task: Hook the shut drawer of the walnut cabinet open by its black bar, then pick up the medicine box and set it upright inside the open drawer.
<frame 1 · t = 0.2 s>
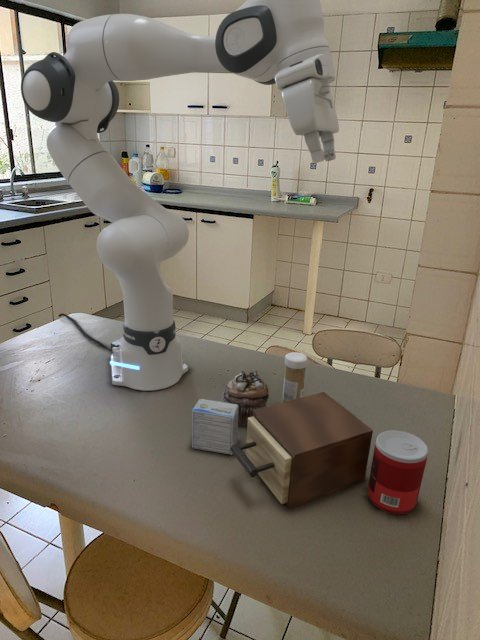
hand: (325, 161, 80), 52 cm above the table, tool tilted 20°, fingers open, 8 cm apart
sprinkles bottle: (291, 412, 101), on the table
drawer: (288, 451, 79), point 5 cm above the table, slide at 0.0 cm, touching cabinet
canned food: (390, 499, 77), on the table
cupcake: (244, 415, 99), on the table
cabinet: (305, 469, 83), on the table
medicine box: (214, 446, 89), on the table
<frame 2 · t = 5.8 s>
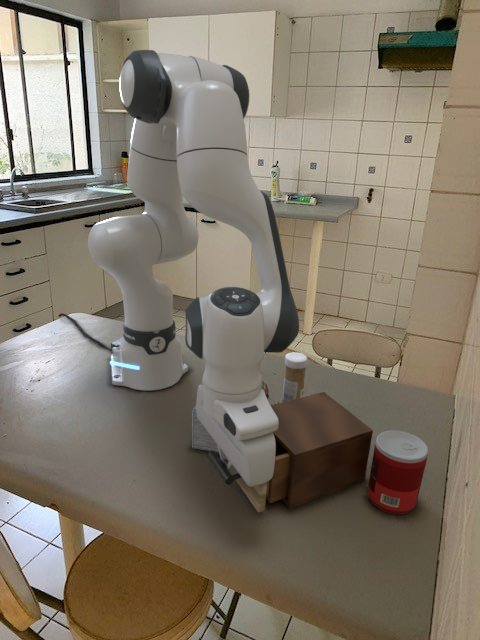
hand: (229, 470, 75), 5 cm above the table, tool pointing down, fingers closed, pressing on drawer
drawer: (267, 457, 78), point 5 cm above the table, slide at 4.2 cm, touching gripper
everything else where it was.
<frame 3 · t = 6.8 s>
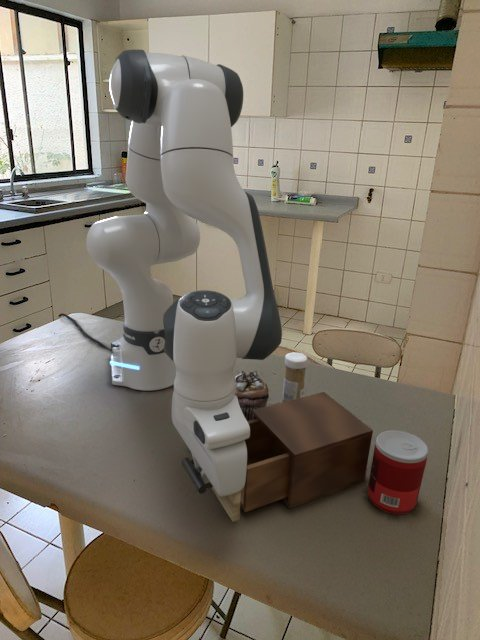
hand: (203, 478, 73), 5 cm above the table, tool pointing down, fingers closed, pressing on drawer
drawer: (244, 465, 76), point 5 cm above the table, slide at 8.7 cm, touching gripper
everything else where it was.
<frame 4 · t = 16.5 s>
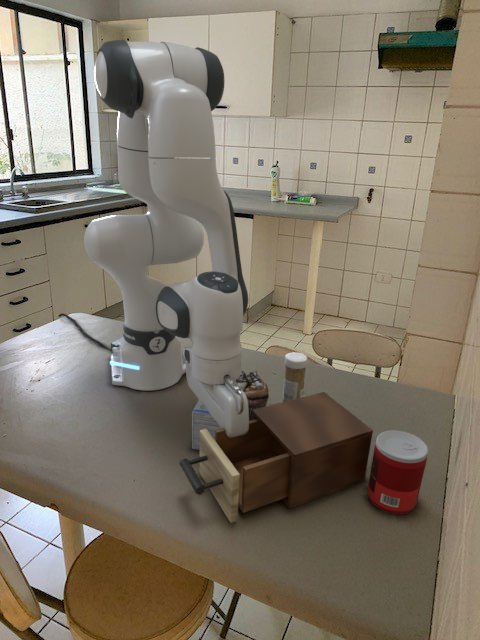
hand: (215, 429, 87), 4 cm above the table, tool pointing down, fingers closed on medicine box, 7 cm apart
drawer: (242, 465, 76), point 5 cm above the table, slide at 9.0 cm
medicine box: (214, 447, 89), on the table, touching gripper
everything else where it was.
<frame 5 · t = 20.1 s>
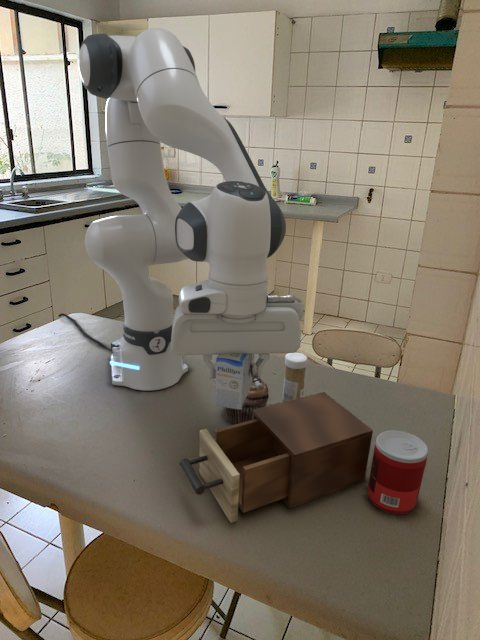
hand: (234, 376, 75), 19 cm above the table, tool pointing down, fingers closed on medicine box, 5 cm apart
medicine box: (234, 397, 76), point 15 cm above the table, touching gripper
everything else where it was.
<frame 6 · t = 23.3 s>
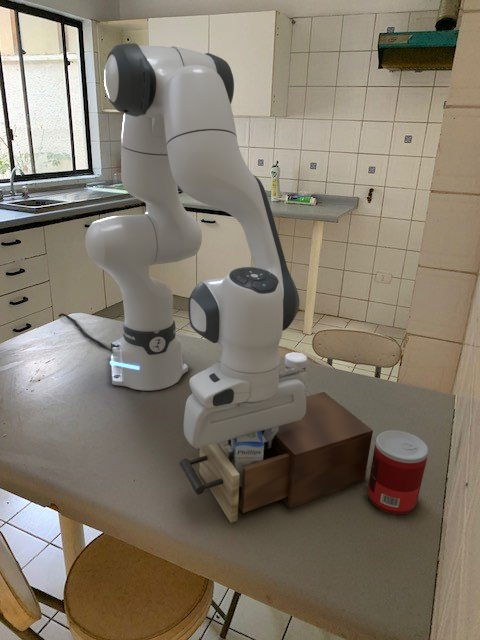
hand: (246, 452, 75), 8 cm above the table, tool pointing down, fingers closed on medicine box, 5 cm apart
medicine box: (245, 472, 76), point 4 cm above the table, touching gripper
everything else where it was.
when the fingers open (7 cm above the table, at t = 24.1 s): medicine box drops 1 cm, resting on drawer.
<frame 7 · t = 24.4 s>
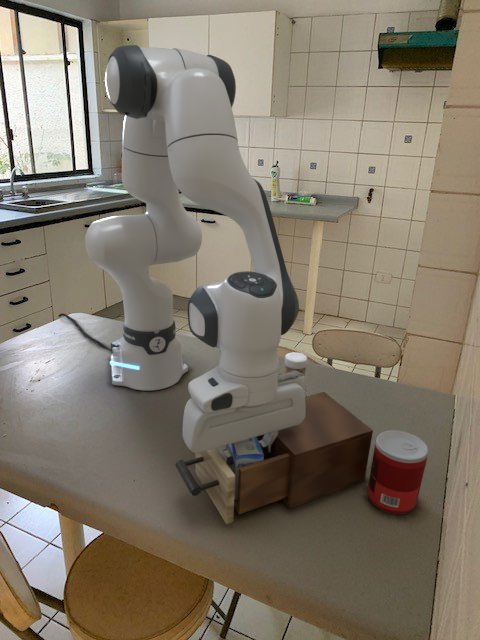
hand: (245, 457, 74), 7 cm above the table, tool pointing down, fingers open, 6 cm apart
drawer: (238, 466, 75), point 5 cm above the table, slide at 9.8 cm, touching gripper, medicine box
medicine box: (242, 483, 77), point 2 cm above the table, touching drawer
everything else where it was.
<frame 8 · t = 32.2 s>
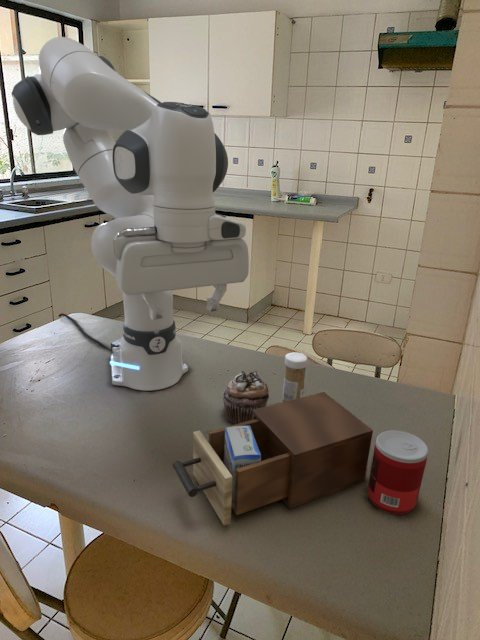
hand: (185, 314, 72), 29 cm above the table, tool pointing down, fingers open, 8 cm apart
drawer: (235, 467, 75), point 5 cm above the table, slide at 10.2 cm, touching medicine box
everything else where it was.
at the end: drawer slide at 10.2 cm; medicine box inside the target area in the drawer (1.2 cm from its centre), point 1.8 cm above the cabinet's base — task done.
